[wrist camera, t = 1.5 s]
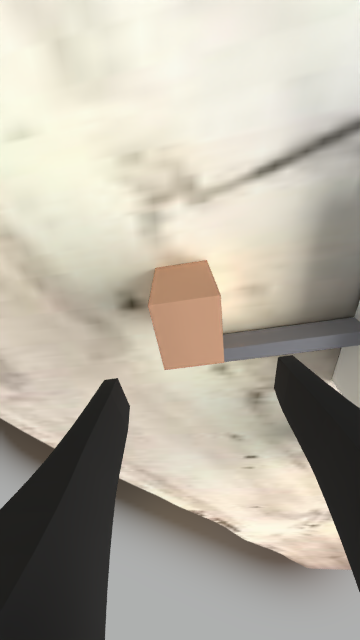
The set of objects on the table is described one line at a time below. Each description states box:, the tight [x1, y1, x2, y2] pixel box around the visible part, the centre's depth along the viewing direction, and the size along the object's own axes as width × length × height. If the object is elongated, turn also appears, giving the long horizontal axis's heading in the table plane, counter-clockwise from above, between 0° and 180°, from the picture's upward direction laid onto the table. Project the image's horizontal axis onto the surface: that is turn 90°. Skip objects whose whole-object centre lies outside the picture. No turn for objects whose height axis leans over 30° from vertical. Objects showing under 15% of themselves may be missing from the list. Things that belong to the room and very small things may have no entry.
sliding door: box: [223, 301, 360, 362], centre depth 17 cm, size 10×14×4 cm
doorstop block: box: [148, 260, 224, 370], centre depth 16 cm, size 5×4×6 cm
